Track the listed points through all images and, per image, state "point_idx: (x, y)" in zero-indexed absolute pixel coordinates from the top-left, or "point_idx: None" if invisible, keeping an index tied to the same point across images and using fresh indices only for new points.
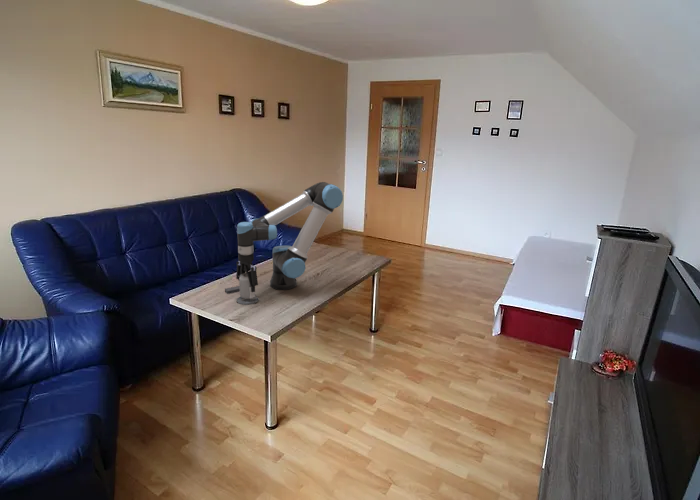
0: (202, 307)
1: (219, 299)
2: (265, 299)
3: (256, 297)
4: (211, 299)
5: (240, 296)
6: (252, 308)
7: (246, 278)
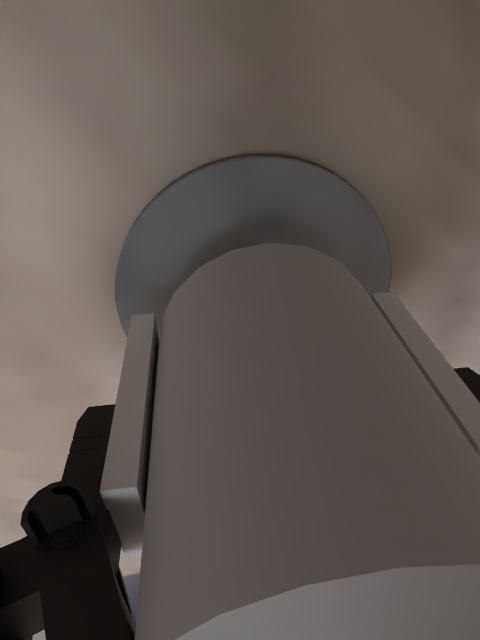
0: (135, 561)
1: (50, 464)
2: (423, 92)
3: (298, 186)
4: (12, 501)
5: (122, 323)
6: (453, 350)
7: None
